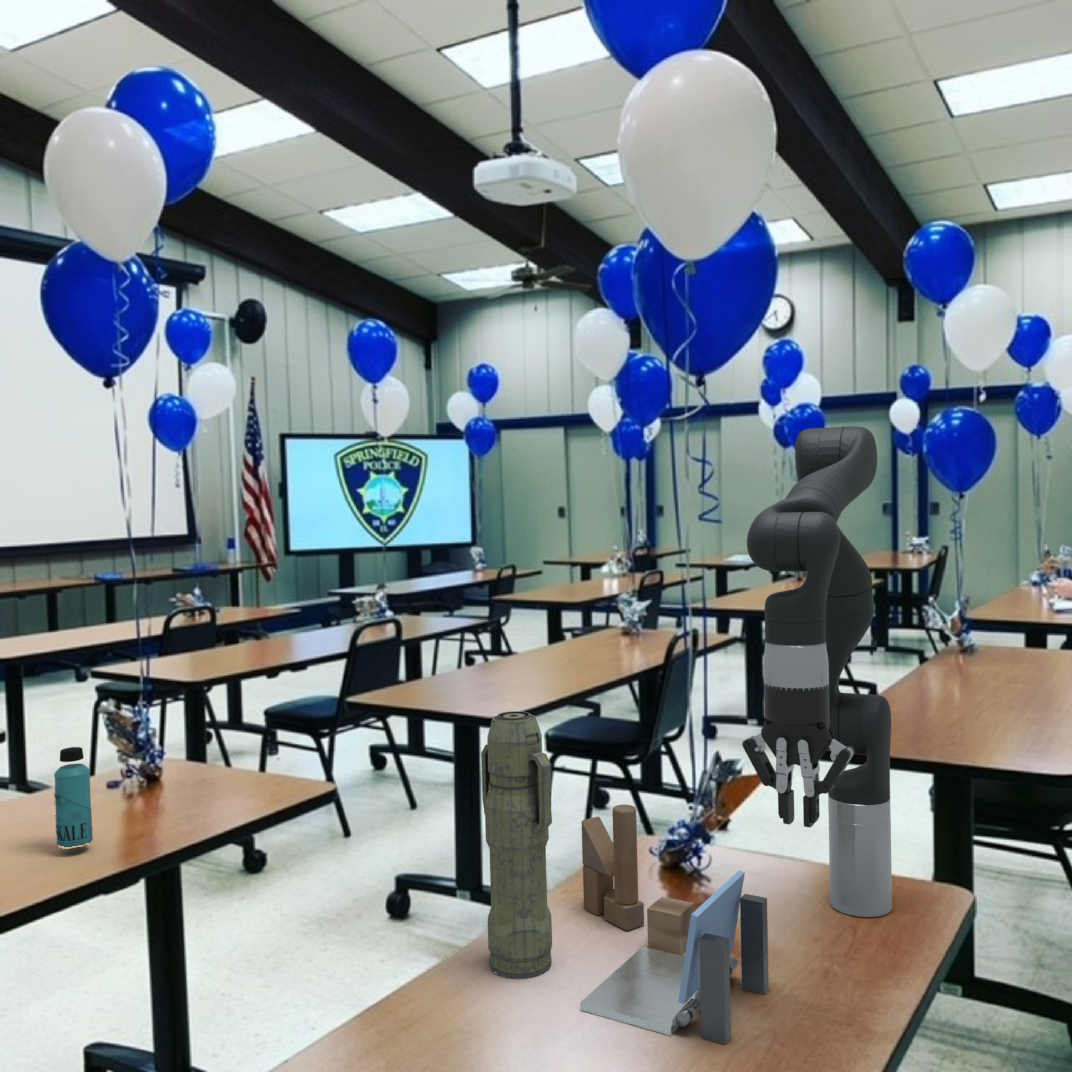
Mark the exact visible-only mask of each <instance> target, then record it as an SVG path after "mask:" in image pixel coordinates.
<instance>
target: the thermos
mask: <svg viewBox="0 0 1072 1072" xmlns="http://www.w3.org/2000/svg"><path fill="white" fill-rule="evenodd" d="M486 742H487V743H486V744H484V747H483V749H482V750H481V753H480V755H481V758H480V759H481V760H480V761H481V788H482V790H481V791H482V792H481V793H482V794H481V795H482V803H483V812H484V813H483V814H484V822H485V829H484V830H485V842H486V844H487V847H488V848H489V872H490V873H489V876H490V878H489V880H490V883H489V884H490V909H489V913H488V916H487V943H488V949H487V950H489V954H490V958H489V959H490V960H489V968H490V967H491V968H490V970H491V969H492V970H493V971H494V972H496V973H497V974H498V976H500V975H502V976H501V977H503V976H505V977H504V978H506V977H509V978H508V979H513V978H525V979H530V978H535V977H539V976H541V975H544V974H545V973H546V972H548V971H549V970H550V968H551V967H552V952H551V950H552V949H553V936H552V935H553V931H552V930H553V927H552V926H553V925H552V920H553V919H552V913H551V911H550V909H549V906H548V886H547V883H548V882H547V854H546V853H547V852H546V851H547V850H546V847H547V844H548V841H549V839H550V837H549V835H550V830H549V827H550V826H551V825H552V824H553V818H552V816H553V814H552V763H551V761H550V759H549V757H548V755H547V753H545V752H543V739H542V730H541V728H540V725H539V723H538V720H537V717H536V715H534V714H531V713H530V712H526V711H519V710H513V711H511V710H510V711H504V712H501V713H498V714H497V715H496V716H494V717H492V718H491V723H490V726H489V730H488V734H487V739H486ZM492 970H491V971H492ZM493 971H492V972H493ZM494 972H493V973H494ZM496 973H495V974H496ZM497 974H496V975H497Z"/></svg>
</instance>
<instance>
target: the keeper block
mask: <svg viewBox="0 0 1072 1072" xmlns="http://www.w3.org/2000/svg"><path fill="white" fill-rule="evenodd" d="M694 908H695V907H694V902H690V901H685V900H680V899H675V898H670V897H666V896H661V897H659V898H658V899H657V900H656V901H654V902H653V903H652V904H651V905H650V906H648V907H647V908H646V916H647V918H646V920H647V948H651V949H655V950H659V951H663V952H668V953H672V954H676V955H680V956H685V953H686V946H687V939H688V933H689V926H690V919H691V914H692V913H693V912H694Z"/></svg>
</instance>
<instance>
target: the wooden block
mask: <svg viewBox="0 0 1072 1072" xmlns="http://www.w3.org/2000/svg"><path fill="white" fill-rule="evenodd" d="M611 811H612V838H611V836H610V834H609V833H608V831H607V829H606V827H605V824H604V823H603V821H602V819H601V817H600V816H594V817H590V818H586V819H583V820H581V849H582V850H581V853H582V860H581V861H582V886H583V909H584V910H586V911H587V912H590V913H591V914H592V915H593V914H594V915H595V916H600V915H602V914H603V916H604V917H603V918H604V919H605V921H607V922H609V923H611V924H612V925H615V926H616V927H619V928H620V929H622V930H624V931H627V932H628V931H631V930H633V929H636V928H639V927H642V926H644V925H645V908H644V907H645V904H644V902H643V901H641V900H639V877H638V876H639V873H638V868H639V867H638V829H637V828H638V826H637V808H636V807H635V806H634V805H631V804H618V805H614V806H613V807H612V810H611Z"/></svg>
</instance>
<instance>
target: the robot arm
mask: <svg viewBox="0 0 1072 1072" xmlns="http://www.w3.org/2000/svg"><path fill="white" fill-rule="evenodd" d="M875 439H876V438H875V436H874V434H873V432H871V430H870V429H868V428H867V427H864V426H856V425H855V426H854V425H853V426H850V425H849V426H833V427H832V426H831V427H817V428H816V427H814V428H807V429H803V430H802V431H801V432H799V433H798V436H797V437H796V442H795V448H794V461H795V471H796V473H795V474H796V479H797V482H796V483H795V484H794V485H793V486H792V488H791V489H790V491H789V492H788V494H787V495H786V497H785V498H784V499H782V500H781V499H780V500H778V501H777V502H776V503H774V504H772V505H770V506H768V507H767V508H765V509H763V510H762V511H761V512H760V513H758V515H757V516H756V517H755V518H754V519H753V521H752V522H751V525H750V526H749V529H748V533H747V537H746V549H747V553H748V556H749V558H750V560H751V561H752V562H753V564H754V565H755V566H757V567H758V568H759V569H761V570H764V571H768V572H804V573H805V572H806V576H805V580H804V582H803V584H801V585H800V586H799V587H797V588H794V589H789V590H782V591H777V592H773V593H770V594H769V595H768V596H767V597H766V599H765V602H764V641H765V643H764V654H763V670H762V678H763V704H764V705H763V708H764V711H763V712H764V714H763V715H764V723H763V726H762V727H761V730H760V733H758V734H756V735H751V736H750V737H747V738H746V739H744V740H743V741H742V743H741V745H742V748H743V750H744V751H745V753H746V756H747V757H748V759H749V761H750V763H751V764H752V767H753V768H754V770H755V773H756V774H757V776H758V778H759V780H760V782H761V783H762V786H765V787H771V788H772V789H775V790H776V793H777V804H778V805H777V806H778V807H777V809H778V810H777V812H778V813H777V814H778V818H780V819H782V823H783V824H784V825H791V824H792V823H793V822H794V821H795V790H794V789H792V785H793V774H794V773H793V772H794V769H795V765H796V766H799V767H800V776H801V777H802V780H803V781H802V783H803V793H804V795H803V797H802V805H803V808H802V809H803V810H802V811H803V815H802V816H803V817H802V818H803V827H805V828H809V829H810V828H812V827H813V826H814V825H815V823H817V821H818V820H819V818H820V795H822V794H827V801H828V803H827V804H828V805H827V809H828V813H827V814H828V849H829V850H828V857H829V858H828V859H829V905H830V906H831V907H832V908H833V909H834V910H836V911H838V912H840V913H843V914H844V915H845V914H846V915H849V916H854V917H862V918H873V917H874V918H875V917H882V916H885V915H888V914H889V913H890V912H891V911H892V910H893V899H892V898H893V896H892V895H893V893H892V892H893V891H892V890H893V888H892V885H893V884H892V880H893V878H892V877H893V876H892V874H893V873H892V871H893V869H892V827H891V826H892V820H891V818H892V817H891V816H892V815H891V742H892V739H891V736H892V711H891V710H892V709H891V706H890V703H889V700H888V698H886V697H885V696H884V695H880V694H870V693H869V694H866V693H852V692H841V690H840V678H841V675H842V674H843V671H844V669H845V666H846V665H847V662H848V660H849V659H850V657H851V656H852V654H853V652H854V651H855V649H856V648H857V646H858V645H859V643H860V642H862V639H863V638H864V636H865V634H866V633H867V632H868V630H869V628H870V626H871V624H872V622H873V618H874V615H875V606H874V591H873V589H874V588H873V577H872V573H871V571H870V569H869V567H868V565H867V562H866V561H865V560H864V558H863V557H862V556H861V554H860V553H859V551H858V550H857V549H856V548H855V546H854V545H853V544H852V543H851V541H850V540H849V539H848V538H847V536H846V535H845V534H844V532H843V531H842V530H841V529H840V526H839V525H838V524H837V523H838V521H839V519H840V516H841V514H842V513H843V511H844V510H845V508H847V506H849V505H850V504H851V503H852V502H853V501H855V500H856V499H857V498H858V497H859V496H860V495H861V494H863V492H865V491H866V490H867V489H868V488H869V487H870V486H871V484H873V481H874V479H875V477H876V474H877V469H878V468H877V467H878V450H877V448H878V447H877V443H876V440H875ZM766 745H767V746H768V748H769V750H770V751H771V753H772V754H773V757H775V768H774V767H773V764H772V762H771V761H770V758H769V756H768V755H767V753H766V752H765V751H766V749H767V746H766ZM827 751H829V752H830V755H829V756H830V759H831V761H832V764H831V765H830V767H829V769H828V771H827V773H826V775H824V778H823V780H820V770H821V769H820V765H821V764H820V760H821V759H822V757H823V756H824V755H825V753H826V752H827ZM854 754H856V755H865V756H866V761H865V762H864V763H863V764H860V765H859V766H857V767H853V768H850V769H846V768H847V766H848V765H849V763H850V762H851V759H852V758H853V756H854Z"/></svg>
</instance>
